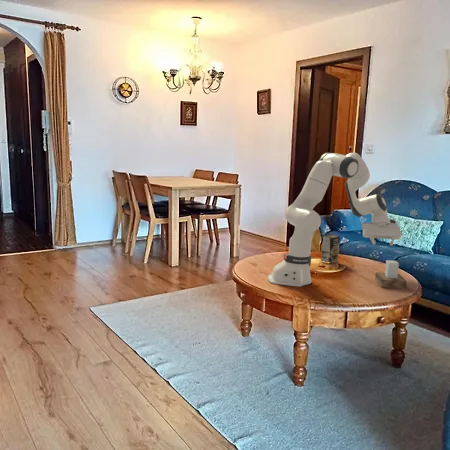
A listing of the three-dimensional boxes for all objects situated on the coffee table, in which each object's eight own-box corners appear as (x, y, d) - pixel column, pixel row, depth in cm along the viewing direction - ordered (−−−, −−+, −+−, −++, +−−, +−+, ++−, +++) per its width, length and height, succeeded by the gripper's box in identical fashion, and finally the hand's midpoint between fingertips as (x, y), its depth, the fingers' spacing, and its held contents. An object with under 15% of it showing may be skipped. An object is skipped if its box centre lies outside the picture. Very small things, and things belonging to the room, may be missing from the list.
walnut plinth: (381, 287, 219) (381, 279, 218) (375, 279, 230) (375, 272, 230) (405, 288, 218) (406, 281, 217) (398, 280, 229) (399, 273, 229)
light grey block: (387, 277, 221) (388, 262, 219) (384, 274, 226) (386, 260, 224) (397, 278, 220) (398, 263, 219) (394, 275, 225) (396, 260, 224)
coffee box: (329, 264, 254) (331, 238, 251) (320, 262, 259) (322, 236, 255) (338, 262, 260) (340, 236, 256) (329, 259, 265) (331, 234, 261)
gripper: (362, 219, 241) (364, 240, 234) (400, 221, 240) (403, 242, 232) (360, 225, 247) (362, 246, 239) (396, 227, 245) (400, 248, 237)
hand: (382, 244), depth 236 cm, fingers open, 8 cm apart
